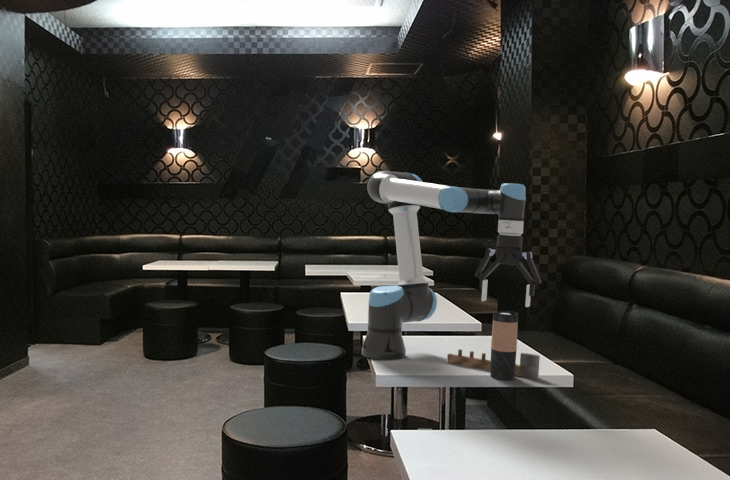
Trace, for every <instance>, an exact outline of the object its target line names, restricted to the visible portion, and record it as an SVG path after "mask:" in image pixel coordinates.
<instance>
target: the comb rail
mask: <svg viewBox="0 0 730 480" xmlns="http://www.w3.org/2000/svg"><path fill="white" fill-rule="evenodd" d="M486 356H487V355H486V352H482V353H481V358H480V357H474V351H471V350H470V351H469V356H467V355H463V349H458V350H457V354H453V353H448V354H447V359H446V360H447V361H446V363H447V364H449V365H454V364H455V365H456V366H460V365H462V366H461V367H467V368H471V367H472V368H471V369H477V368H478V370H484V371H490V372H491V359H486ZM519 357H520V358H519V364H517V362H515V373H514V376H520V377H525V378H530V379H531V378H533V379H536V380H537V379H539V375H540V374H539V372H540V360H541V359H540V355H539V354H532V353H528V352H521V353H520V356H519Z"/></svg>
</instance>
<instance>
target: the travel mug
mask: <svg viewBox="0 0 730 480" xmlns="http://www.w3.org/2000/svg"><path fill="white" fill-rule="evenodd" d="M492 314H493V315H492V329H491V343H490V344H491V345H490V360H491V371H490V377H491V378H493V379H496V380H500V381H511V380H514V379H515V375H514V373H515V363H517V362H516V361H517V349H518V347H517V346H518V327H519V324H518V323H519V313H518V312H515V311H511V310H500V311H498V312H495V310H494V311H493V313H492Z"/></svg>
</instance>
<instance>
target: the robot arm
mask: <svg viewBox="0 0 730 480" xmlns="http://www.w3.org/2000/svg"><path fill="white" fill-rule="evenodd" d="M366 188H367V193H368V195H369V197H370V198H371V199H372V200H373V201H374V202H377V203H378V204H379V203H380V204H384V205H385V204H387V209H388V212H389V213H390V214H392V216H393V226H394V227H393V228H394V236H395V237H394V238H395V247H396V257H397V258H396V259H397V269H398V276H399V281H398V282H397V283H396V285H381V286H377V287H374V288H372V289H371V290H370V292H369V297H368V311H367V313H368V315H367V316H368V317H367V332H366V335H365V338H364V341H363V343H362V347H361V355H362V356H363V357H365V358H368V359H373V360H382V361H396V360H402V359H405V357H406V352H407V349H406V346H405V342H404V339H403V334H402V330H403V329H402V327H403V324H404V323H411V322H412V323H413V322H417V323H418V322H422V321H425V320H428V319H430V318H431V317H432V316H433V315H434V314H435V312H436V310H437V305H438V299H437V296H436V292H434V290H432V289H431V288H430V287H429V282H428V281H427V280H426V279H425V278H424V272H423V262H422V252H421V244H420V243H421V242H420V234H419V222H418V215H417V214H418V211H419V210H420V209H421V206H423V207H428V208H434V209H439V210H444V211H446V212H449V213H467V214H468V213H469V214H470V213H471V214H481V215H482V214H487V215H491V214H492V215H498V222H497V223H498V224H497V232H498V233H499V234H497V238H496V249H492V248H486V250H485V253H484V257H483V258H482V260H481V262H480V264H479V265H478V267H477V269H476V271H475V272H474V274H473V277H474V278H477V279H479V291H481V302H486V301H487V296H488V283H489V282H488V279H487V277H488V276H490V274H492V272H493V271H495V269H496V268H498V266H499V265H503V266H504V265H508V266H515V267H516V268H517V269H518V270H519V272H520V273H521V274H522V276H523V277H524V279H525V280H526V281H527V283H528V284H527V285H526V288H525V289H526V292H525V293H526V294H525V308H529V307H531V297H534V296H535V290H536V289H535V288H536V287H535V286H536V285H539V284H542V278H541V276H540V274H539V271H538V270H537V267H536V265H535V262H534V260H533V252H532V251H528V252H523V236H522V235H523V233H524V223H525V221H524V219H525V206H526V200H527V198H526V191H527V190H526V186H525V185H524V184H523V183H522V184H521V183H510V182H509V183H501V185H500V189H497V190H496V189H482V188H470V187H460V186H453V185H446V184H440V183H439V184H437V183H431V182H423V180H422V178H420V177H419V176H418V175H416V174H414V173H410V172H406V171H405V172H403V171H401V172H400V171H391V170H380V171H377V172H375V173H373V174H372V175H371V176H370V177H369V179H368V182H367V186H366ZM494 254H495V256H496V259H494V261H493V263H492V264H491V265H490V266H489V267H488V268H487V269H486V270H485V267H486V266H487V264H488V262H489V261H490V259H491V257H492V256H494ZM522 258H524V260H526V262H527V264H528V265H527V266H528V267H529V269H530V272H531V274H532V276H531V274H530V273H529V271H528V270H527V268H526V267H525V266H524V264H523V262H522V261H521V259H522ZM484 270H485V271H484Z"/></svg>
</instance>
